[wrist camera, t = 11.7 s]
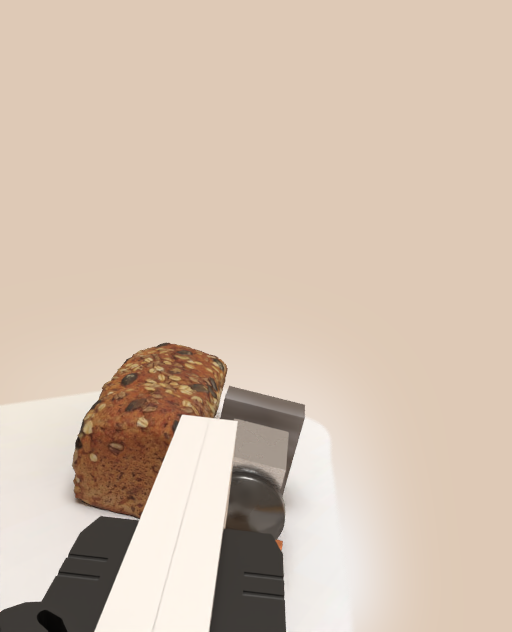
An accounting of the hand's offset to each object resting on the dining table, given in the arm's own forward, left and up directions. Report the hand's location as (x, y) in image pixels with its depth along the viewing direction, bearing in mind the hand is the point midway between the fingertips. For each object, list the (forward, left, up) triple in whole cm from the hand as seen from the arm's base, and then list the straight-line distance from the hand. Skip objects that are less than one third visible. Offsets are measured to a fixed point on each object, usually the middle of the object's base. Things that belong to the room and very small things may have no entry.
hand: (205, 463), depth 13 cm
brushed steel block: (-1, +19, -20) cm, 28 cm away
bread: (-13, +27, -22) cm, 37 cm away
